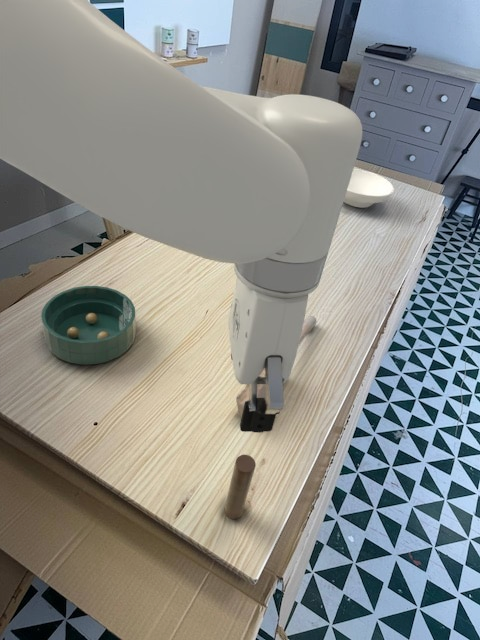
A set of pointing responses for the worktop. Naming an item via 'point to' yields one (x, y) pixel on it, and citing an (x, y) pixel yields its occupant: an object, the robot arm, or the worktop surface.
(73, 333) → the bead
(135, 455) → the worktop surface
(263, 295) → the robot arm
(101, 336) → the bead
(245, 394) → the tan handled block
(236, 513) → the stick
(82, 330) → the mixing bowl
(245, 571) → the worktop surface
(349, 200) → the bowl
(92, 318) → the bead
